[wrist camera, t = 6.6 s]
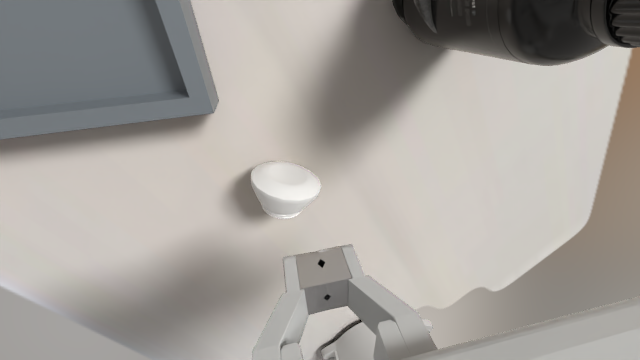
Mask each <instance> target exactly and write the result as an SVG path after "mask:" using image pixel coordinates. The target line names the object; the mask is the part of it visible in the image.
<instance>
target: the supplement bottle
mask: <svg viewBox="0 0 640 360" xmlns="http://www.w3.org/2000/svg"><path fill="white" fill-rule="evenodd" d="M402 8H403V13H404V17H405V20H406V22H407V24H408V26H409V28H410V30H411V31H412V32H413V33H414V35H415V36H416V37H417V38H419V39H420V40H421V41H423V42H425V43H427V44H430V45H434V46H438V47H443V48H448V49H453V50H458V51H464V52H469V53H474V54H479V55H485V56H490V57H495V58H500V59H506V60H511V61H516V62H521V63H527V64H534V65H541V66H553V65H561V64H565V63H570V62H573V61H576V60H579V59H582V58H585V57H587V56H590V55H592V54H594V53H596V52H598V51H600V50H602V49H604V48H605V47H607V46H616V47H625V48H636V47H640V0H431V13H432V19H433V23H434V26H435V28H436V31H437V33H435V32H433V31H432V30H431V29H430V28H429V26H428V25H427V24H426V23H425V22H424V20H423V17H422V16H420V14H419V12H418V10H417V7H416V5H415V3H414V0H402Z"/></svg>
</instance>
